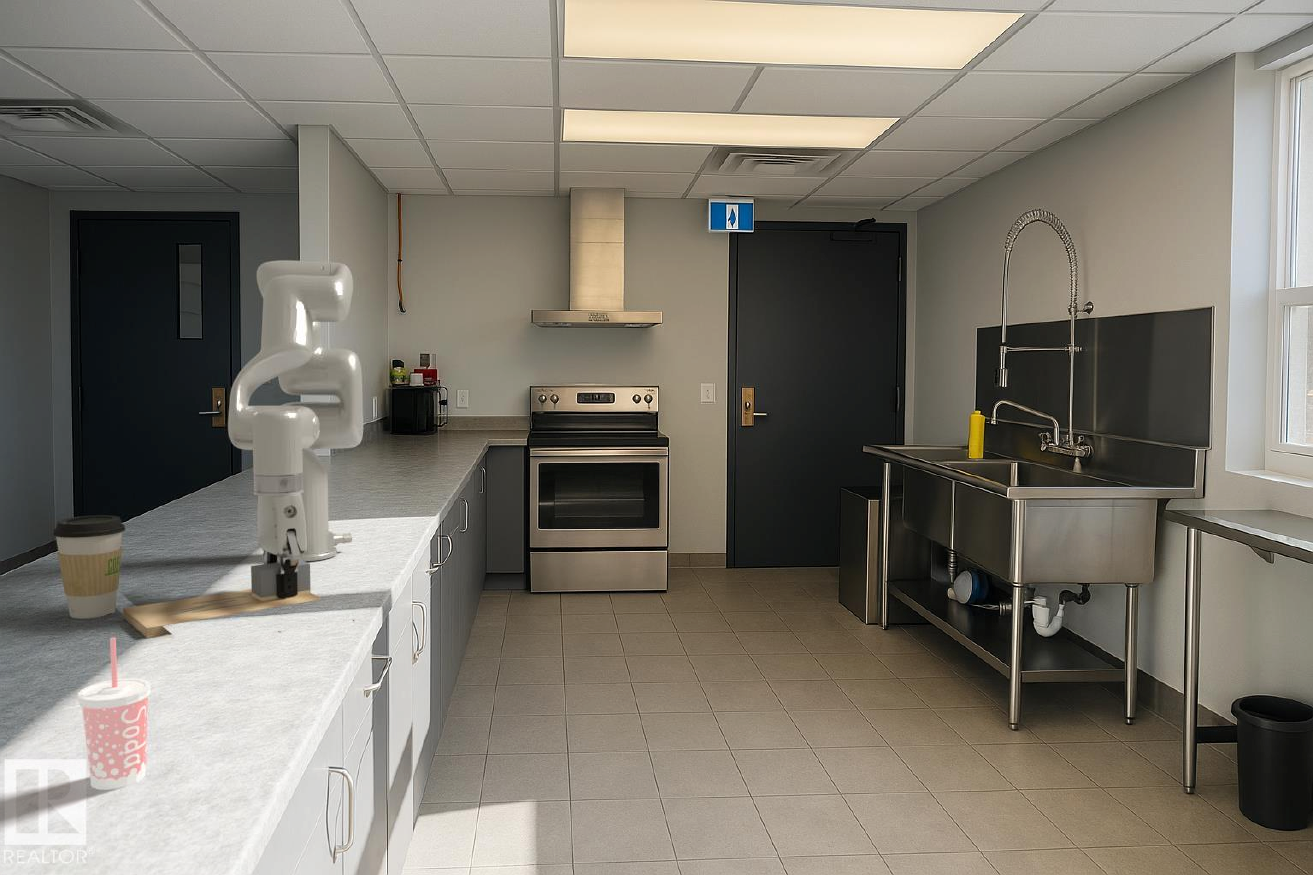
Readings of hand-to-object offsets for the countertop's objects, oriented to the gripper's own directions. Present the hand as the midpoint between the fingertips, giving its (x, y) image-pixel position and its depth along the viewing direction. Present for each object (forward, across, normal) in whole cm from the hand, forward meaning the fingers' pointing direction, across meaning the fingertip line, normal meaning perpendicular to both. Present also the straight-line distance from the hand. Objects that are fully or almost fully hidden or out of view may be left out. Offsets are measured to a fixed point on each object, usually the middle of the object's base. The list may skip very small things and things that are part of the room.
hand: (281, 592), depth 155 cm
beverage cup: (+2, -55, +36) cm, 66 cm away
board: (+2, 0, +9) cm, 9 cm away
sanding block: (0, 0, 0) cm, 0 cm away
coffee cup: (+2, +13, +25) cm, 28 cm away
